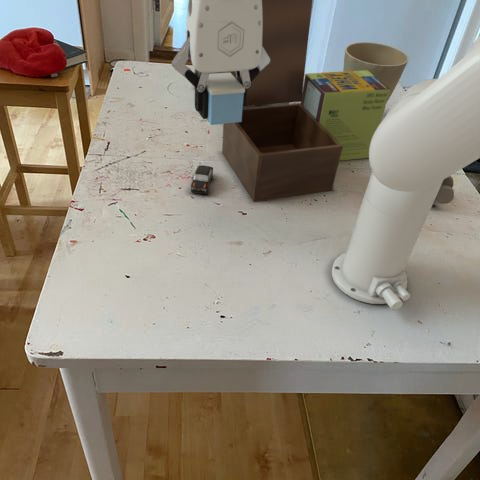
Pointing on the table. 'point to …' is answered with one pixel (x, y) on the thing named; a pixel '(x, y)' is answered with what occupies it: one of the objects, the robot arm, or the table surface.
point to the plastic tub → (224, 99)
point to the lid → (282, 52)
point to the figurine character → (445, 191)
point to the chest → (281, 152)
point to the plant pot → (376, 62)
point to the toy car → (202, 178)
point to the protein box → (346, 107)
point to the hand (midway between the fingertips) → (220, 112)
